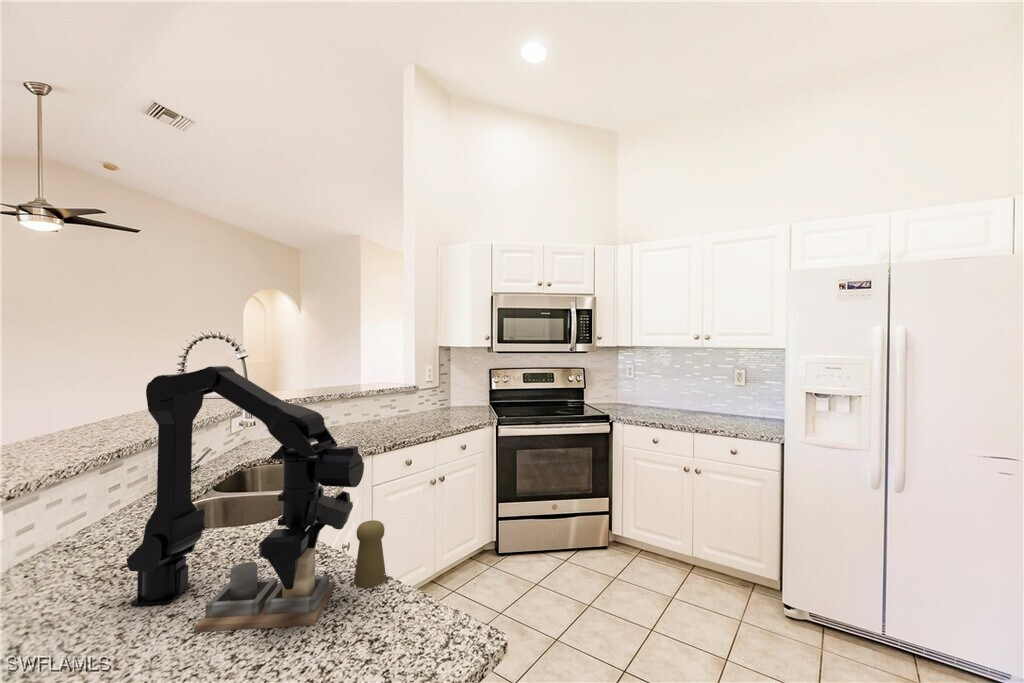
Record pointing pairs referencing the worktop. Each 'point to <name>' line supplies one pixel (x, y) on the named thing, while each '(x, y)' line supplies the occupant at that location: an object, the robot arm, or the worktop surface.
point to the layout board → (261, 603)
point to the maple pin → (303, 577)
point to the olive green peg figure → (370, 555)
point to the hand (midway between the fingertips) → (299, 575)
